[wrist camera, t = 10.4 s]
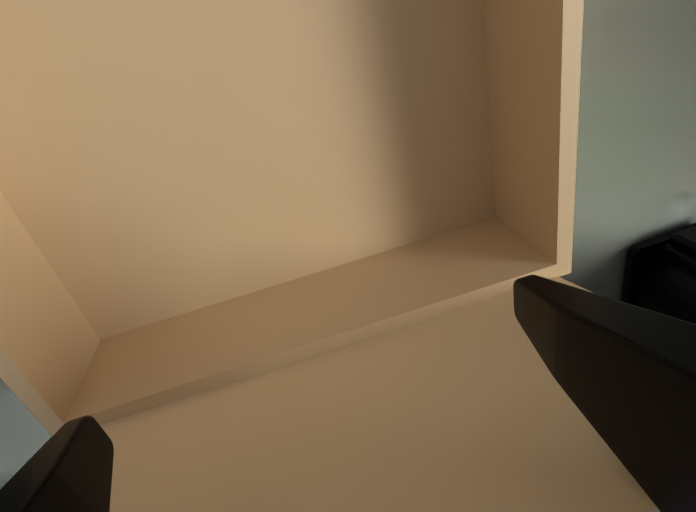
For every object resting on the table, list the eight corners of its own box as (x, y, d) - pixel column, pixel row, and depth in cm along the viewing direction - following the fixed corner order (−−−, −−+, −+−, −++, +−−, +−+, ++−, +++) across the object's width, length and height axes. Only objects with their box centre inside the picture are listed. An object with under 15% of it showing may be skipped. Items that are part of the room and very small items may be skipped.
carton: (502, 219, 20) (571, 272, 16) (97, 345, 19) (55, 439, 15) (469, -451, 11) (618, -758, 7) (-346, -297, 10) (-833, -558, 5)
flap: (559, 276, 16) (560, 289, 16) (70, 435, 15) (76, 447, 15) (881, 423, 7) (879, 447, 8) (-230, 836, 6) (-209, 857, 6)
